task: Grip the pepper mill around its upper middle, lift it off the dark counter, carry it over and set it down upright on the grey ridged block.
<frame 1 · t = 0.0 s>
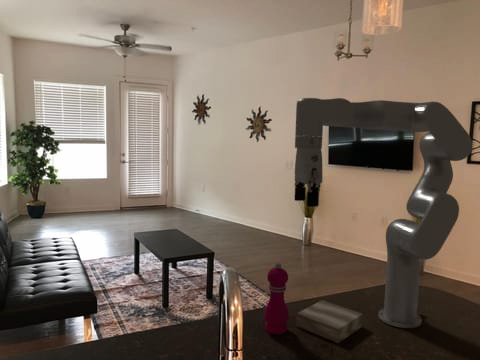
hand: (305, 203, 118), 37 cm above the counter, tool pointing down, fingers open, 9 cm apart
grey ridged block: (329, 326, 123), on the counter
pepper mill: (275, 330, 121), on the counter
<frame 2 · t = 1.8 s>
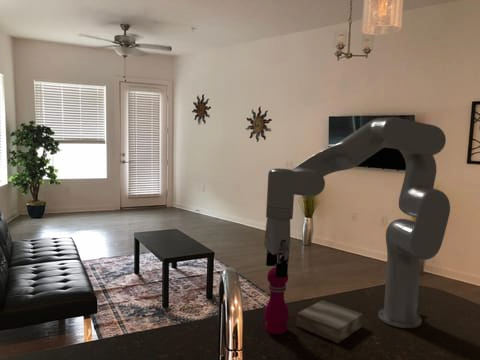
hand: (276, 271, 118), 18 cm above the counter, tool pointing down, fingers open, 9 cm apart
nothing on the counter moved.
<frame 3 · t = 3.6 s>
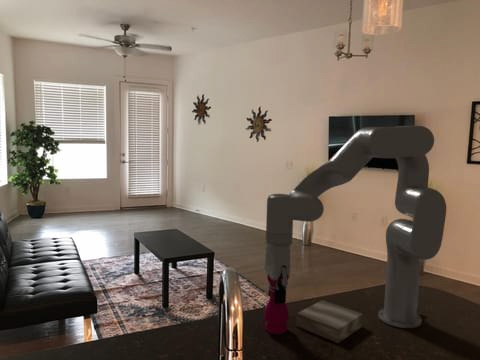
hand: (276, 298, 119), 9 cm above the counter, tool pointing down, fingers closed on pepper mill, 5 cm apart
pepper mill: (275, 329, 121), on the counter, touching gripper
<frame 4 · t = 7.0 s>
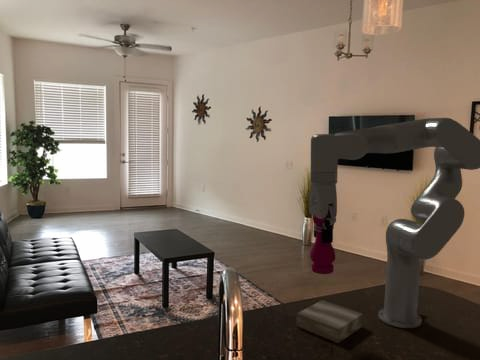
hand: (323, 239, 120), 27 cm above the counter, tool pointing down, fingers closed on pepper mill, 5 cm apart
pepper mill: (322, 271, 121), point 17 cm above the counter, touching gripper
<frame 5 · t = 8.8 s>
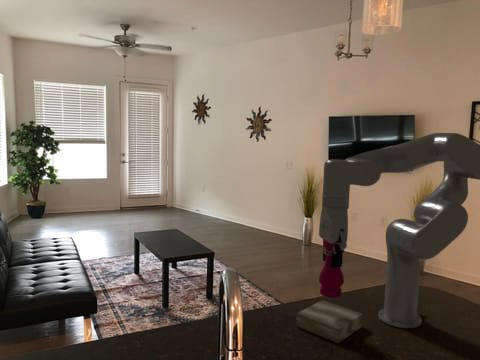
hand: (332, 263, 121), 19 cm above the counter, tool pointing down, fingers closed on pepper mill, 5 cm apart
pepper mill: (330, 294, 122), point 10 cm above the counter, touching gripper
when the fingers open (15 cm above the counter, at t = 10.5 s): pepper mill drops 1 cm, resting on grey ridged block.
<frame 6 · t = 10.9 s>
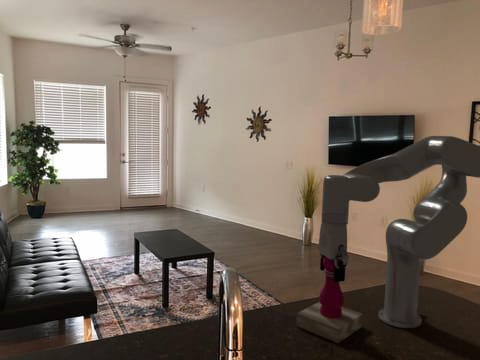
hand: (331, 275, 121), 16 cm above the counter, tool pointing down, fingers open, 9 cm apart
pepper mill: (330, 314, 123), point 4 cm above the counter, touching grey ridged block
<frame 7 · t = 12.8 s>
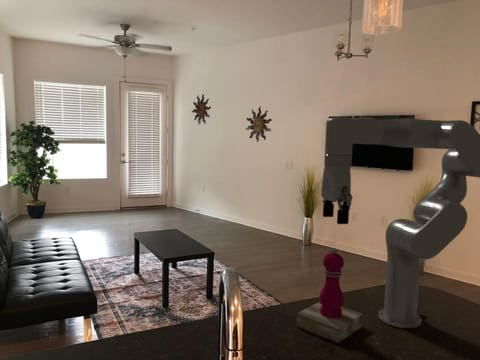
hand: (335, 220, 120), 32 cm above the counter, tool pointing down, fingers open, 9 cm apart
nothing on the counter moved.
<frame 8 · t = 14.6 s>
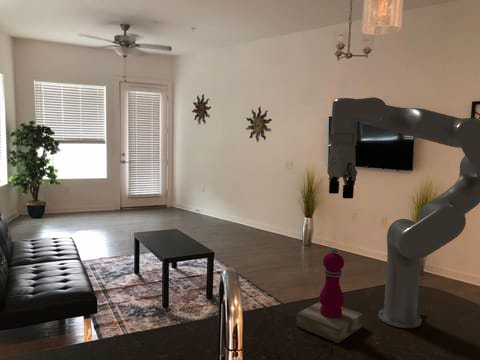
hand: (340, 195, 127), 38 cm above the counter, tool pointing down, fingers open, 9 cm apart
nothing on the counter moved.
at the end: pepper mill inside the target area on the grey ridged block (0.3 cm from its centre), point 3.8 cm above the grey ridged block's base; pepper mill tilted 0°; the gripper is holding nothing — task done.
